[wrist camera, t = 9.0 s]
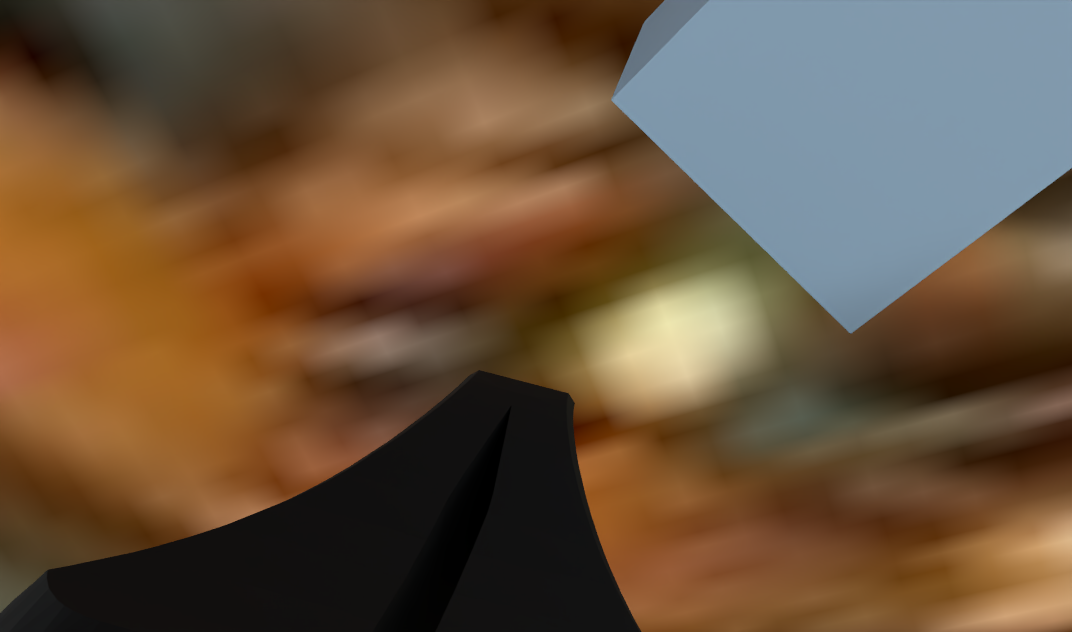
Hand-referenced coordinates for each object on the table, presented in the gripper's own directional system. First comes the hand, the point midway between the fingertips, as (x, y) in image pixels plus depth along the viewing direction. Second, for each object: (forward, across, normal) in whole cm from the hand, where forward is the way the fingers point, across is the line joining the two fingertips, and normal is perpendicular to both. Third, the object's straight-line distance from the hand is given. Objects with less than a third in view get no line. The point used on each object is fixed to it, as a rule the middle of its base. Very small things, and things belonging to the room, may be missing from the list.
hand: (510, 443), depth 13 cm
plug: (+5, -3, -5) cm, 8 cm away
